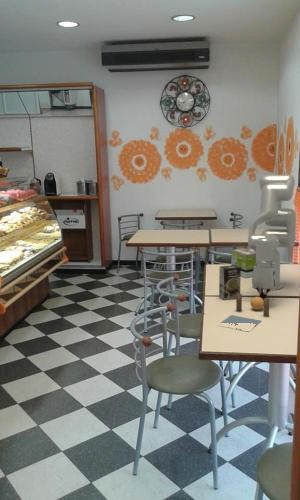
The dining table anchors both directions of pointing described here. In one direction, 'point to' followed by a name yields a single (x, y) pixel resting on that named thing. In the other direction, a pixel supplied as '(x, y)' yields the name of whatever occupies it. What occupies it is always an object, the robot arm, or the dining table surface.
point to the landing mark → (240, 320)
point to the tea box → (244, 261)
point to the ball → (257, 303)
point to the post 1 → (238, 302)
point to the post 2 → (266, 307)
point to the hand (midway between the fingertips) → (263, 301)
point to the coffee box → (229, 281)
